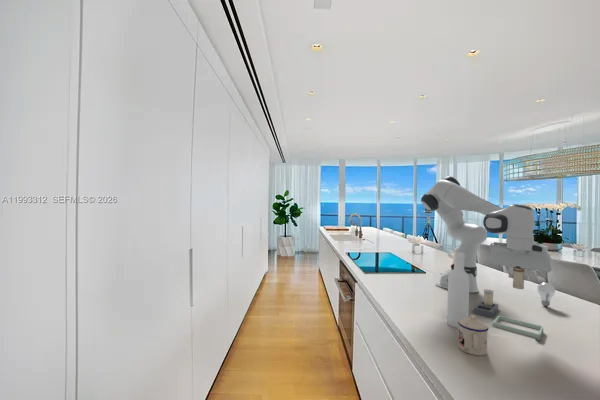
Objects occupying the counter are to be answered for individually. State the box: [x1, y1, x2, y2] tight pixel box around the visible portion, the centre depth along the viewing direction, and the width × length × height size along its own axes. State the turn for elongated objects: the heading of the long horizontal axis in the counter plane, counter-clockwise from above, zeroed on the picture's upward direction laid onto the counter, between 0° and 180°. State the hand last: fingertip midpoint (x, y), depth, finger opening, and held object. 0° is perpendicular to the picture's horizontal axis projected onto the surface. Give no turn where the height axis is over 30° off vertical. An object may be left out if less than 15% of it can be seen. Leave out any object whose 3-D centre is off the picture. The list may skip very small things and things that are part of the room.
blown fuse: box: [512, 266, 526, 290], centre depth 119 cm, size 4×4×9 cm
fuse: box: [483, 288, 494, 307], centre depth 139 cm, size 4×4×9 cm
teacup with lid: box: [457, 314, 489, 356], centre depth 101 cm, size 12×9×12 cm
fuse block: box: [470, 300, 502, 320], centre depth 136 cm, size 9×14×4 cm, turn 135°
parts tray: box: [492, 314, 544, 342], centre depth 119 cm, size 15×11×2 cm
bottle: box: [446, 251, 470, 329], centre depth 123 cm, size 8×8×30 cm
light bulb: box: [536, 282, 556, 308], centre depth 148 cm, size 7×7×12 cm
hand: (518, 278), depth 119 cm, fingers closed on blown fuse, 4 cm apart
